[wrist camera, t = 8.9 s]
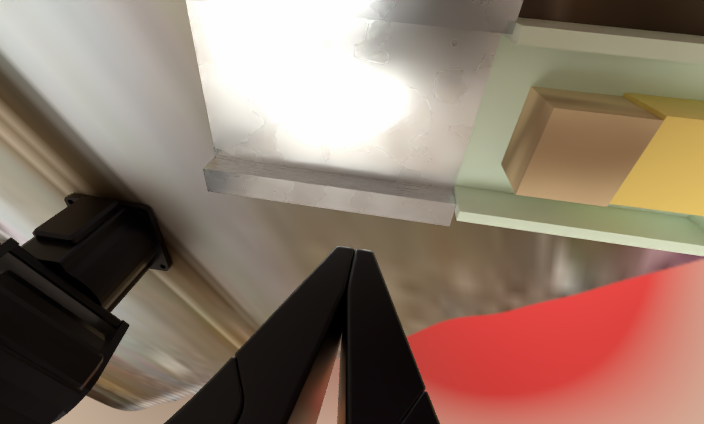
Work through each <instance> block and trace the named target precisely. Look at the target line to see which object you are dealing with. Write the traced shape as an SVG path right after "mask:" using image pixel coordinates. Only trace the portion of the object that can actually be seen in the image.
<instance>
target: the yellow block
mask: <svg viewBox="0 0 704 424" xmlns="http://www.w3.org/2000/svg"><path fill="white" fill-rule="evenodd" d="M623 97H624V98H626V99H628V100H630V101H631V102H633V103H635V104H636V105H638V106H640V107H642V108H643V109H645V110H647V111H648V112H650V113H652V114H654V115H655V116H657V117H659V118H660V119H662V120H664V121H663V123H662V124H661V126H660V128H659V129H658V131H657V132H656V134H655V135H654V137H653V138H652V140H651V141H650V143H649V144H648V146H647V147H646V149H645V150H644V152H643V153H642V155H641V156H640V158H639V159H638V161H637V162H636V164H635V165H634V167H633V168H632V170H631V171H630V173H629V174H628V176H627V177H626V179H625V180H624V182H623V183H622V185H621V186H620V188H619V190H618V191H617V193H616V194H615V196H614V197H613V199H612V200H611V202H610V203H609V204H615V205H622V206H630V207H637V208H645V209H652V210H660V211H667V212H675V213H682V214H690V215H698V216H704V101H699V100H690V99H680V98H671V97H662V96H653V95H644V94H635V93H626V92H625V93H624V95H623Z"/></svg>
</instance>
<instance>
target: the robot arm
mask: <svg viewBox="0 0 704 424" xmlns="http://www.w3.org/2000/svg"><path fill="white" fill-rule="evenodd" d="M64 200H65V202H66V204H67V206H68V207H67V208H65V209H64V210H62V211H61V212H59V213H58V214H56V215H55V216H54V217H52V218H51V219H49V220H48V221H46V222H45V223H43V224H42V225H40V226H39V227H38V228H36V229H35V230H34V231H33V235H34V237H33V238H32V239H30V240H29V241H28V242H26V243H25V244H23V245H22V246H19V243H18V242H17V241H15V240H14V239H13V238H9V239H8V240H6V241H5V242H3V243H0V424H51V423H53V422H55V421H57V420H59V419H60V418H61V417H63V416H64V415H66V414H67V413H68V412H69V411H71V410H72V409H73V408H74V407H75V406H76V405H77V404H78V403H79V402H80V401H81V400H82V399H83V398H84V397H85V396H86V394H87V393H88V392H89V391H90V390H91V388H92V387H93V386H94V385H95V383H96V382H97V380H98V379H99V377H100V376H101V374H102V372H103V370H104V369H105V367H106V365H107V363H108V362H109V360H110V358H111V357H112V355H113V353H114V351H115V350H116V348H117V346H118V344H119V343H120V341H121V339H122V338H123V336H124V334H125V332H126V331H127V329H128V327H129V324H128V323H126V322H125V321H124V320H122V321H121V320H120V319H118V318H117V317H116V316H114V315H113V314H111V311H112V310H113V309H114V308H115V307H116V306H117V305H118V303H119V302H120V301H121V300H122V299H123V298H124V297H125V295H126V294H127V293H128V292H129V291H130V290H131V289H132V287H133V286H134V285H135V284H136V283H137V282H138V281H139V279H140V278H141V277H142V276H143V275H144V274H145V273H146V272H147V270H148V269H149V268H150V269H156V270H162V271H167V270H169V268H170V267H171V262H170V259H169V256H168V253H167V251H166V248H165V245H164V242H163V240H162V237H161V234H160V231H159V228H158V226H157V223H156V220H155V217H154V214H153V212H152V210H151V208H150V207H148V206H147V205H144V204H137V203H130V202H124V201H117V200H110V199H104V198H97V197H90V196H84V195H77V194H70V195H68V196H67V197H65V199H64ZM341 336H342V339H341ZM340 341H341V352H340V373H339V397H338V416H337V424H440V423H439V420H438V418H437V415H436V413H435V410H434V408H433V405H432V402H431V400H430V397H429V395H428V393H427V392H425V389H426V388H425V385H424V382H423V380H422V377H421V374H420V372H419V369H418V367H417V364H416V361H415V359H414V356H413V354H412V351H411V349H410V346H409V343H408V341H407V338H406V335H405V333H404V330H403V328H402V325H401V323H400V320H399V317H398V315H397V312H396V310H395V307H394V304H393V302H392V299H391V297H390V294H389V291H388V289H387V286H386V284H385V281H384V278H383V276H382V273H381V271H380V268H379V265H378V263H377V260H376V258H375V255H374V253H373V252H372V251H370V250H364V249H356V250H355V251H354V249H353V248H351V247H345V246H337V247H336V248H334V250H333V251H332V252H331V253H330V254H329V255H328V256H327V257H326V258H325V259H324V260H323V261H322V262H321V263H320V264H319V265H318V267H317V268H316V269H315V270H314V271H313V272H312V273H311V274H310V275H309V276H308V277H307V278H306V279H305V280H304V281H303V282H302V283H301V285H300V286H299V287H298V288H297V289H296V290H295V291H294V292H293V293H292V294H291V295H290V296H289V297H288V298H287V299H286V300H285V301H284V303H283V304H282V305H281V306H280V307H279V308H278V309H277V310H276V311H275V312H274V313H273V314H272V315H271V316H270V317H269V318H268V319H267V321H266V322H265V323H264V324H263V325H262V326H261V327H260V328H259V329H258V330H257V331H256V332H255V333H254V334H253V335H252V336H251V337H250V339H249V340H248V341H247V342H246V343H245V344H244V345H243V346H242V347H241V348H240V349H239V350H238V351H237V352H236V354H235V357H236V358H235V357H231V358H230V359H229V361H228V362H227V363H226V364H225V365H224V366H223V367H222V368H221V369H220V370H219V371H218V372H217V373H216V374H215V375H214V376H213V377H212V378H211V379H210V380H209V381H208V382H207V383H206V384H205V385H204V386H203V387H202V388H201V389H200V390H199V391H198V392H197V393H196V394H195V395H194V396H193V397H192V399H190V400H189V401H188V402H187V403H186V404H185V405H184V406H183V407H182V408H181V409H180V410H178V411H177V412H176V413H175V414H174V415H173V416H172V417H171V418H170V419H169V420H167V422H165V423H164V424H316V423H317V419H318V416H319V413H320V409H321V406H322V402H323V399H324V396H325V393H326V389H327V386H328V382H329V379H330V376H331V372H332V369H333V366H334V362H335V359H336V356H337V352H338V349H339V345H340Z"/></svg>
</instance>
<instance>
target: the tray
mask: <svg viewBox="0 0 704 424" xmlns="http://www.w3.org/2000/svg"><path fill="white" fill-rule="evenodd" d="M531 86H533V87H542V88H551V89H560V90H569V91H578V92H587V93H596V94H606V95H615V96H623V95H624V93H625V92H626V93H635V94H644V95H653V96H662V97H671V98H680V99H690V100H699V101H704V36H699V35H689V34H679V33H669V32H659V31H650V30H640V29H630V28H620V27H610V26H600V25H591V24H581V23H571V22H561V21H551V20H541V19H532V18H522V17H518V18H517V21H516V25H515V28H514V31H513V34H504V33H502V35H501V38H500V41H499V44H498V48H497V51H496V54H495V57H494V61H493V64H492V67H491V70H490V74H489V77H488V80H487V83H486V86H485V90H484V93H483V96H482V99H481V103H480V106H479V109H478V112H477V115H476V119H475V122H474V125H473V128H472V132H471V135H470V138H469V141H468V145H467V148H466V151H465V154H464V157H463V161H462V164H461V167H460V170H459V174H458V177H457V180H456V183H455V186H454V194H455V199H456V204H457V205H456V208H455V215H456V220H457V221H463V222H470V223H477V224H484V225H491V226H497V227H504V228H511V229H518V230H525V231H532V232H539V233H546V234H553V235H560V236H567V237H574V238H581V239H588V240H594V241H601V242H608V243H615V244H622V245H629V246H636V247H643V248H650V249H657V250H664V251H671V252H678V253H684V254H691V255H698V256H704V216H698V215H690V214H682V213H675V212H667V211H660V210H652V209H645V208H637V207H630V206H622V205H615V204H609V205H608V206H607V207H604V206H596V205H589V204H581V203H574V202H566V201H559V200H551V199H544V198H536V197H529V196H521V195H515V193H514V190H513V188H512V186H511V184H510V182H509V180H508V178H507V176H506V174H505V172H504V169H503V167H502V165H501V162H502V160H503V157H504V155H505V152H506V149H507V147H508V144H509V142H510V139H511V136H512V134H513V131H514V129H515V126H516V123H517V121H518V118H519V116H520V113H521V111H522V108H523V105H524V103H525V100H526V98H527V95H528V92H529V90H530V87H531Z"/></svg>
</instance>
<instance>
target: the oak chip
mask: <svg viewBox="0 0 704 424" xmlns="http://www.w3.org/2000/svg"><path fill="white" fill-rule="evenodd" d="M663 121H664V120H662V119H660V118H659V117H657V116H655V115H654V114H652V113H650V112H648V111H647V110H645V109H643V108H642V107H640V106H638V105H636V104H635V103H633V102H631V101H630V100H628V99H626V98H624V97H623V96H615V95H606V94H596V93H587V92H578V91H569V90H560V89H551V88H542V87H533V86H531V87H530V90H529V92H528V95H527V98H526V100H525V103H524V105H523V108H522V111H521V113H520V116H519V118H518V121H517V123H516V126H515V129H514V131H513V134H512V136H511V139H510V142H509V144H508V147H507V149H506V152H505V155H504V157H503V160H502V162H501V165H502V167H503V169H504V172H505V174H506V176H507V178H508V180H509V182H510V184H511V186H512V188H513V190H514V193H515V195H521V196H529V197H536V198H544V199H551V200H559V201H566V202H574V203H581V204H589V205H596V206H604V207H607V206H608V205H609V203H610V202H611V200H612V199H613V197H614V196H615V194H616V193H617V191H618V190H619V188H620V186H621V185H622V183H623V182H624V180H625V179H626V177H627V176H628V174H629V173H630V171H631V170H632V168H633V167H634V165H635V164H636V162H637V161H638V159H639V158H640V156H641V155H642V153H643V152H644V150H645V149H646V147H647V146H648V144H649V143H650V141H651V140H652V138H653V137H654V135H655V134H656V132H657V131H658V129H659V128H660V126H661V124H662V123H663Z"/></svg>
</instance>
